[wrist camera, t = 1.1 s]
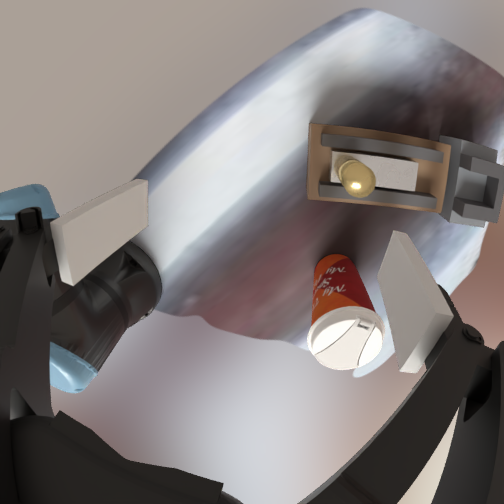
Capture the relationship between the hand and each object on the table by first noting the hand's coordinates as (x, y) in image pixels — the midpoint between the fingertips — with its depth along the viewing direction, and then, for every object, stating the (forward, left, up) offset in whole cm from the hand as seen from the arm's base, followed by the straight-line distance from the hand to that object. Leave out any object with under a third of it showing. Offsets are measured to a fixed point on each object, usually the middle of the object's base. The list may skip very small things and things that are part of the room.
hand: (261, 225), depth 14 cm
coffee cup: (+8, -15, -23) cm, 28 cm away
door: (+11, +1, -22) cm, 25 cm away
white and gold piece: (+10, +1, -16) cm, 19 cm away
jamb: (+24, +1, -22) cm, 33 cm away
